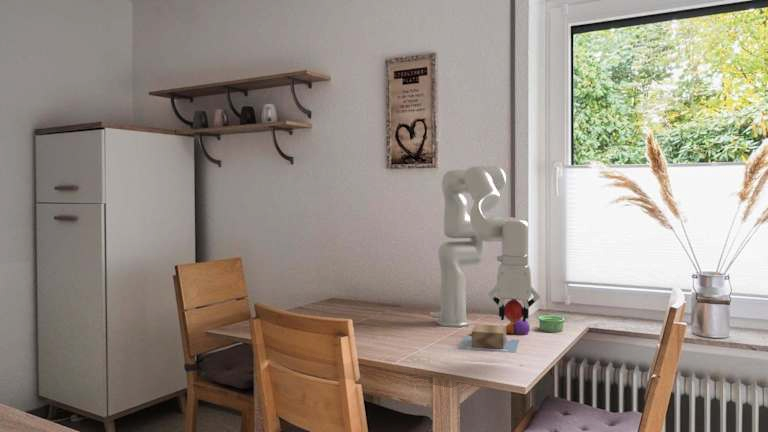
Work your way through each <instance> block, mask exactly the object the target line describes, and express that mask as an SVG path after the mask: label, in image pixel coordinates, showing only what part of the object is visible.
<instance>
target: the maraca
mask: <svg viewBox="0 0 768 432" xmlns="http://www.w3.org/2000/svg"><path fill="white" fill-rule="evenodd" d="M505 326H506V334H508V335H514V334H515V335H522V336H523V335H528V334H529V332H530V330H531V329H530V328H531V327H530V324H529V322H528V321H527V320H526V321H525V322H524V321H523V318H521V319H520V320H518V321H517V322H516V323H511V322H510V323H507V325H505ZM473 329H474V327H473V328H472V330H473Z"/></svg>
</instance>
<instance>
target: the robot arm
mask: <svg viewBox="0 0 768 432" xmlns="http://www.w3.org/2000/svg"><path fill="white" fill-rule="evenodd" d="M506 184H507V177H506V173H505V171H504V170H503V169H502V168H501V167H499V166H496V165H495V166H494V165H493V166H492V165H483V166H482V165H479V166H478V165H477V166H476V165H475V166H472V167H469V168H467V169H452V170H448V171H446V172H445V173H444V174H443V176H442V179H441V189H442V194H443V199H444V200H443V201H444V212H443V213H444V214H443V233H444V235H445V237H447V238H449V239H469V240H455V241H453V240H452V241H446V242H443V243H441V244H440V245H439V246H438V252H437V255H438V262H439V269H440V311H437V312H436V311H430V312H429V317H431V318H433V319H434V318H435V319H436V318H437V320H436V324H438V326H441V327H447V328H460V327H462V328H463V327H467V326H469V325H471V320H470V319H467V279H466V275H465V274H464V272H463V271H462V269H461V267H469V266H471V267H473V266H478V265H481V263H483V261H484V256H485V246H486V242H487V243H489V242H490V243H491V242H494V243H495V242H502V243H501V254H500V255H499V256H498V255H497V256H496V261H498V262H500V264H499V265H498V269H497V275H496V276H497V277H496V285H495V286H494V287H493V288H492V289H491V290H490V291H489V292H488V294H487V295H488V296H489V297H490V298H491V299H492V300H493V302H494V303H495V304H496V305H497V306H498V316H499V317H500V320H501V321H504V320H505V315H504V307H505V304H504V302H505V300H512V299H516V300H517V301H521V300H522V303H523V306H522V307H523V316H522V319H523V321H524V322H525V321H527V319H529V308H530V307H531V306H533V304H535V303H536V302H537V301H538V300H539V299H540V298H541V295H540V293H538V292H537V290H535V288H533V286H532V273H531V267H530V265H528V249H529V248H528V247H529V246H528V242H529V241H528V240H529V238H528V237H529V224H528V222H527V221H526V220H524V219H518V218H516V217H512V216H510V217H508V216H507V217H505V216H504V217H500V216H499V217H498V216H497V217H494V216H492V217H487V216H485V215H484V213H486V212H489V211H491V210H492V209H493V208H495V207H496V206H497V205H498V204H499V201H500V199H501V196H500V193H499V192H500V191H502V190H503V189H504V188H505V186H506ZM465 194H469V195H470V197H471V198H472V200H473V204H472V205H471V208H470V211H469V212H468V200H467V197H466V196H465ZM495 293H496V294H495ZM532 296H533V297H532ZM531 297H532V298H531ZM530 298H531V299H530ZM529 299H530V300H529Z"/></svg>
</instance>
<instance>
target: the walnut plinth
mask: <svg viewBox="0 0 768 432" xmlns="http://www.w3.org/2000/svg"><path fill="white" fill-rule="evenodd" d="M473 328H474V329H473ZM473 328H472V330H471V337H472V347H480V348H494V349H504V346H505V343H506V339H507V333H506V325H504V326H502V325H492V324H491V325H488V324H487V325H486V324H475V326H474V327H473Z"/></svg>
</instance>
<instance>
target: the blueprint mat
mask: <svg viewBox="0 0 768 432" xmlns="http://www.w3.org/2000/svg"><path fill="white" fill-rule="evenodd" d="M519 341H520V339H514V338H512V339H509V338H506V343H505V346H504V349H494V348H480V347H472V336H465V337H464V338H463V339H462V341H461V343H460V344H459V346H458V347H457V349H458V350H471V351H472V350H473V351H485V352H486V351H487V352H499V353H500V352H501V353H510V354H511V353H513V354H514V353H515V354H516V352H517V350H518V345H519Z"/></svg>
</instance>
